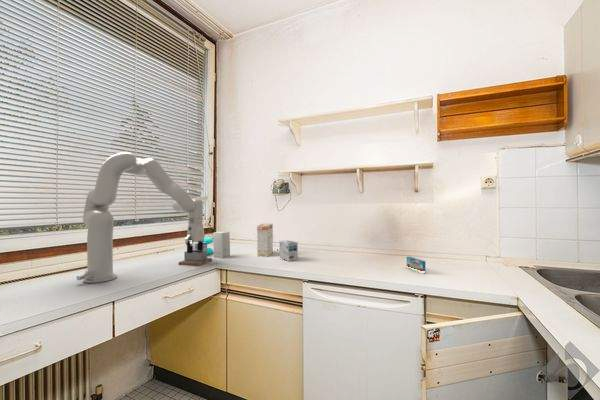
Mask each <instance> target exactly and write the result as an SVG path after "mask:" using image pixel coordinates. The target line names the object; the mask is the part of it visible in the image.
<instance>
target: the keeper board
mask: <svg viewBox="0 0 600 400" xmlns="http://www.w3.org/2000/svg"><path fill="white" fill-rule="evenodd" d="M212 261H213V258H212V257H207V260H204V261H201V262H194V261H184V260H181V261H178V265H179V266H188V267H200V266H202V265H205V264H207V263H210V262H212Z"/></svg>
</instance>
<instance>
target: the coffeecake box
mask: <svg viewBox="0 0 600 400" xmlns="http://www.w3.org/2000/svg"><path fill="white" fill-rule="evenodd" d="M273 228H274V226H273V223H267V222H266V223H261V224H258V225H257V226H256V234H257V235H256V239H257V241H256V243H257V246H256V250H257V253H256V255H257V257H260V256H268V255H269V256H270V255H271V254H273V252H274V248H273V247H274V246H273V245H274V242H273V241H274V236H273V234H274V229H273ZM269 256H268V257H269Z"/></svg>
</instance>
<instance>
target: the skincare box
mask: <svg viewBox="0 0 600 400" xmlns="http://www.w3.org/2000/svg"><path fill="white" fill-rule="evenodd" d="M212 236H213V238H212V239H213V242H212V243H213V258H218V259H225V257H227V258H230V257H231V243H230V242H231V239H230V238H231V237H230V231H222V230H221V231H216V232H213V233H212ZM229 256H230V257H229Z"/></svg>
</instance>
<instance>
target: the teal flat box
mask: <svg viewBox="0 0 600 400" xmlns="http://www.w3.org/2000/svg"><path fill="white" fill-rule="evenodd" d="M407 266H408V267H411V268H414V269H417V270H420V271H425V272H426V260H423V259H419V258H416V257H412V256H406V267H407Z"/></svg>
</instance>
